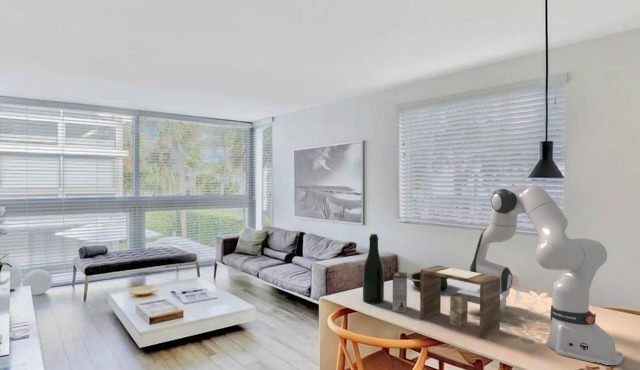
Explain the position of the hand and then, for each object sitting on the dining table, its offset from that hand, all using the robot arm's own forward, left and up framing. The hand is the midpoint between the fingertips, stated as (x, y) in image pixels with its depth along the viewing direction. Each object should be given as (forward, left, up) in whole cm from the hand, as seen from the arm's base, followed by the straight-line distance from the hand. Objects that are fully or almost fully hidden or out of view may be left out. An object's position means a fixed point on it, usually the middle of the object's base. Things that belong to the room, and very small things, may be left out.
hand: (471, 302), depth 171 cm
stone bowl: (+40, -28, -7) cm, 50 cm away
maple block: (0, +11, -7) cm, 13 cm away
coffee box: (+28, +14, -7) cm, 32 cm away
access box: (0, +11, -7) cm, 13 cm away
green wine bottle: (+44, +14, -7) cm, 47 cm away
